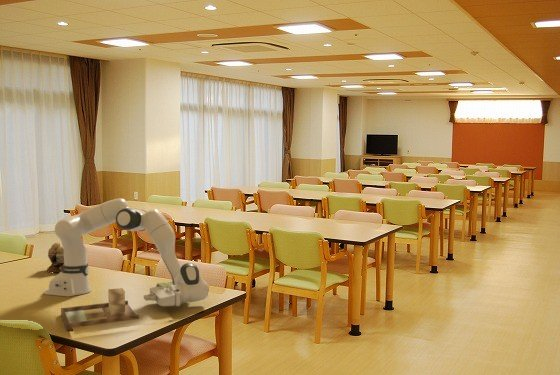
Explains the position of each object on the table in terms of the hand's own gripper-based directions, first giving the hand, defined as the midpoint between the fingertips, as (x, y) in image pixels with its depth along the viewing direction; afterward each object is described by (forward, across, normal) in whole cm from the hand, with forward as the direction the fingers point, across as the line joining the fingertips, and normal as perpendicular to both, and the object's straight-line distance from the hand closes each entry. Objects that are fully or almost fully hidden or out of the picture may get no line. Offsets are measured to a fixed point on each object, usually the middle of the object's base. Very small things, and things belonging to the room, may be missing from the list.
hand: (144, 297), depth 257 cm
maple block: (+12, 0, +5) cm, 13 cm away
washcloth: (-22, -32, +7) cm, 39 cm away
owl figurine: (+27, -100, +7) cm, 104 cm away
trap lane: (+19, 0, +7) cm, 20 cm away
